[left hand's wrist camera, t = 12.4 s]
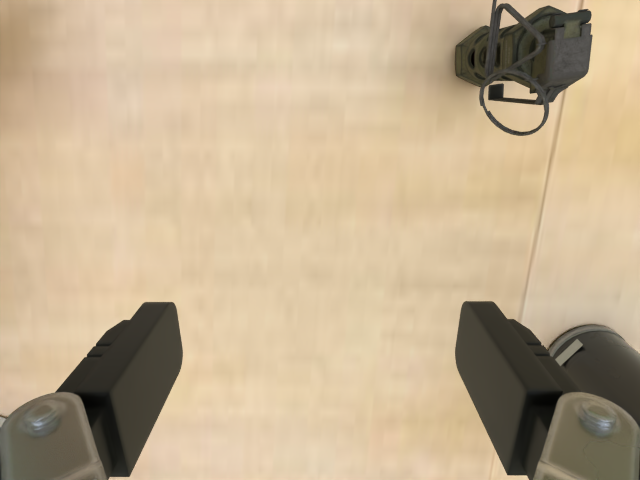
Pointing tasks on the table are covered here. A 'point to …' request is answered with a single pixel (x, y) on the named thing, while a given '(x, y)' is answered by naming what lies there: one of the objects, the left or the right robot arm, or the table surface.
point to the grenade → (527, 55)
